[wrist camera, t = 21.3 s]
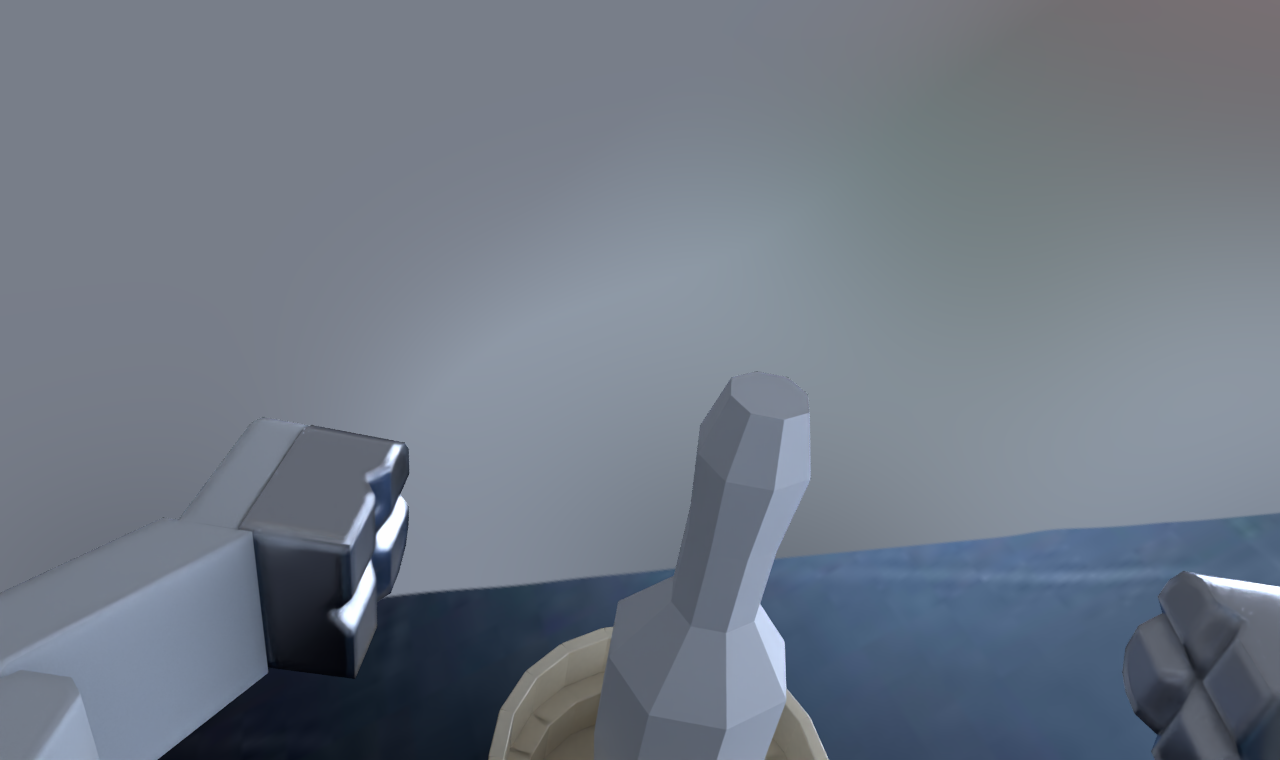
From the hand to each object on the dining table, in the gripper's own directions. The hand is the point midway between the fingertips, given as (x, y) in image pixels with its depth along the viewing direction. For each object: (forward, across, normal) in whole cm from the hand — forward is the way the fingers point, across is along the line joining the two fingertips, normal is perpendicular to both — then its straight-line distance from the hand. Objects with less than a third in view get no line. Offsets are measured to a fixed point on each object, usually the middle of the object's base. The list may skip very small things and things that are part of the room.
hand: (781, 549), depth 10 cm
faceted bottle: (+14, -2, +29) cm, 33 cm away
